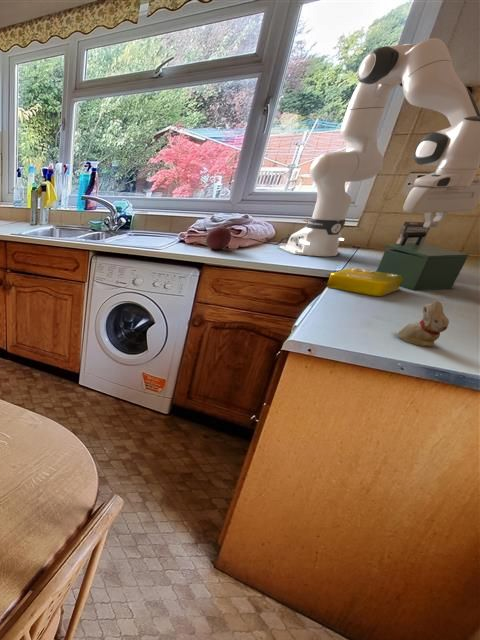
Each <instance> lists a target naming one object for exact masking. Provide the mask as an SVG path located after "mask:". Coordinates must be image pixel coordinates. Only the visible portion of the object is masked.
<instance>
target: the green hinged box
mask: <svg viewBox="0 0 480 640" xmlns="http://www.w3.org/2000/svg"><path fill="white" fill-rule="evenodd" d="M467 260H468V257H452V258H425V257H421V256H417V255H414V254H410V253H406V252H403V251H399V250H395V249H392V248H387V249H385V250H384V252H383V254H382V257H381V260H380V262H379V263H378V266H377V268H376V271H377V272H383V273H390V274H396V275H402V276H403V280H402V282H401V284H400V287H402V288H405V289H408V290H412V291H421V290H445V289H448V290H449V289H453V287H454V285H455V283H456V281H457V279H458V277H459V275H460V273H461V271H462V269H463V267H464V266H465V263H466V261H467Z"/></svg>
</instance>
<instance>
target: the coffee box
mask: <svg viewBox="0 0 480 640" xmlns="http://www.w3.org/2000/svg"><path fill="white" fill-rule="evenodd" d="M424 223H425V221H424V222H421V221H404V223H403V225H402V227H401V230H400V232H399V234H398V237H397V239H396V242H395V244H401V243H402V241H403V239H404V237H403V234H404V233H405V232H426V236H425V237H423V238H422V240H421V242H420V243H424V242H425V240H426V238H427V236H428V234H429V232H430V230H431V227H424V226H423V225H424ZM418 238H419V237H417V238H408V239H407V241H406V243H416V242H417V240H418Z"/></svg>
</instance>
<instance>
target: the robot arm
mask: <svg viewBox="0 0 480 640" xmlns="http://www.w3.org/2000/svg"><path fill="white" fill-rule="evenodd" d="M356 73H357V80H358V81H359V82H358V83H357V85H356V87H355V88H354V91H353V93H352V95H351V96H350V100H349V102H348V105H347V107H346V110H345V114H344V117H343V120H342V123H341V126H340V129H339V135H340V138H342V139H343V140H344V141H345V146H346V147H345V151H344V150H343V151H331V152H327V153H323V154H321V155H318V156H317V157H316V158H315V159H314V160H313V161H312V163H311V165H310V167H309V176H310V179H311V180H312V181H313V183H314V184H315V186H316V196H317V197H316V202H315V205H314V209H313V212H312V216H311V217H310V218H306V219H305V220H306V221H305V223H306V224H305V226H303V228H301V229H299V230H298V231H296V232H294V233H288V234H287V236H286V237H284V238H282V239H280V241H279V242H275V243H273V242H270V241H267V240H264V241H265V242H264V243H265V244H269V245H274V246H277V245H280V244H281V243H282V242H283V241H284V240H286V242H287V243H286V244H282V245H280V246H279V249H281V250H283V251H286V252H288V253H291V254H292V255H293V254H294V255H299V256H300V255H302V256H311V257H335V256H337V255H338V254H339V252H340V250H338V249H339V245H340V242H341V241H342V242H343V241H345V238H343V237H342V229H344V227H345V224H346V218H347V217H346V216H347V214H348V212H349V209H350V205H351V204H352V197H351V195H350V194H349V193H348V192H346V183H350V182H351V183H352V182H361V181H362V182H363V181H366V180H369V179H372V178H374V177H376V176H377V175H378V174H379V173H380V172H381V170H382V168H383V166H384V161H385V160H384V157H383V154H382V153H381V152H380V150H379V148H378V143H377V134H378V129H379V126H380V123H381V119H382V116H383V114H384V111H385V108H386V105H387V102H388V99H389V96H390V93H391V92H392V90H393V89H395V88H396V86H398V85H399V86H400V87H401V88H402V91H403V96H404V98H405V100H406V101H407V102H408V103H409V104H410V105H411V106H414V107H417V108H422V109H427V110H431V111H435V112H438V113H440V114H442V115H443V116H445V117H446V118H447V120H448V122H449V124H450V126H449V127H447V128H444V129H441V130H438V131H433V132H430V133H428V134H427V135H425V136H424V137H422V138H421V140H419V142H418V143H417V144H416V146H415V149H414V151H413V160H414V163H416V164H417V165H419V166H420V165H421V166H424V167H425V166H426V167H427V166H431V167H432V166H434V167H435V166H436V170H435V171H434V172H431V173H428V174H425V175H423V176H420V177H418V178H416V179H415V180H414V182H413V186H414V187H413V188H412V189H411V190H410V191H409V193H408V194H407V196H406V199H405V201H404V203H403V207H402V210H403V212H404V213H408V214H424V222H425V223H424V225H423V226H424V227H430V228H437V227H438V226H439V224H440V222H442V220H443V219H445V218H446V217H447V215H448V214H449V213H453V212H454V213H455V212H456V213H457V212H471V211H473V210H475V208H476V207H477V205H478V203H479V201H480V178H479V177H477V178H476V176H477V173H478V171H479V169H480V110H479V108H478V105H477V103H476V100H475V98H474V96H473V94H472V92H471V90H470V89H469V88H468V87H467V86H466V85H465V84H464V83H463V82H462V81H461V80H460V78H459V76H458V74H457V73H456V70H455V68H454V65H453V61H452V57H451V54H450V51H449V49H448V47H447V45H446V44H445V42H444V41H443V40H442V39H441V38H437V37H434V38H433V37H432V38H428V39H425V40H422V41H420V42H418V43H405V44H398V45H396V44H395V45H389V46H388V45H385V46H380V47H377V48H374V49H372V50H370V51H369V52H368V53H366V55H365V56H364V57H363V58H362V60H361V61H360V64H359V65H358V67H357V72H356Z"/></svg>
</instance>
